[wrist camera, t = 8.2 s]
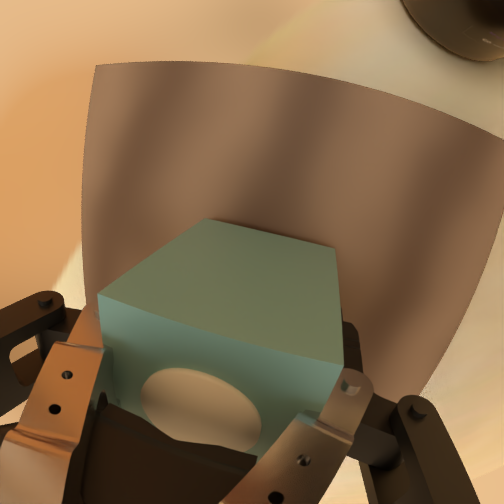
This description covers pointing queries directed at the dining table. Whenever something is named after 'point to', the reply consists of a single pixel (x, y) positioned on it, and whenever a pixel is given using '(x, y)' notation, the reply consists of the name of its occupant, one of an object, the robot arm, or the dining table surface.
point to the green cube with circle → (225, 335)
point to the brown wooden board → (300, 191)
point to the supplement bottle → (463, 25)
